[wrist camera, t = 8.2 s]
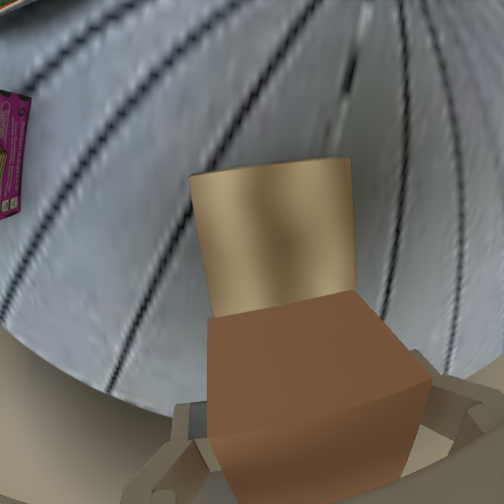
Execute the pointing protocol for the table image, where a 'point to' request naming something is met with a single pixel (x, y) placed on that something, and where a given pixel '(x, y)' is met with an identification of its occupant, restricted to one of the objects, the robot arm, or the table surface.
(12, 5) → the ramen bowl
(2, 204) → the candy bar box
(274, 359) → the terracotta cube
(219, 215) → the maple block
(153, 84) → the table surface
